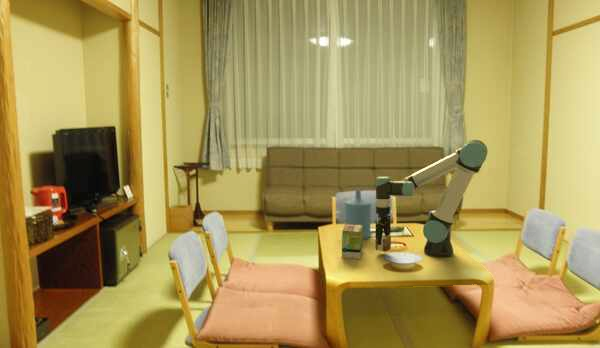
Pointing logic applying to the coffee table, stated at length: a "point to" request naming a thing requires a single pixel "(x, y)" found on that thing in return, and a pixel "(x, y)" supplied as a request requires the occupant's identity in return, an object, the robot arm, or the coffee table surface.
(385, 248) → the walnut block
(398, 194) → the robot arm
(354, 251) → the tea box
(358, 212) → the water jug
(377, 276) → the coffee table surface
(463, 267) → the coffee table surface
